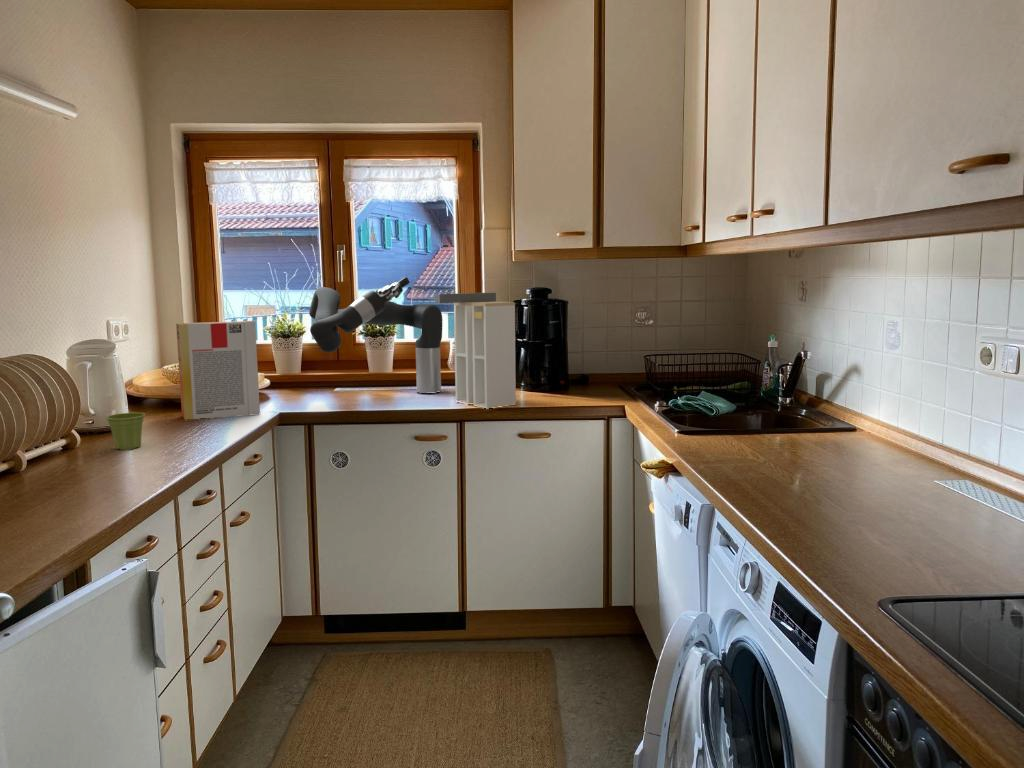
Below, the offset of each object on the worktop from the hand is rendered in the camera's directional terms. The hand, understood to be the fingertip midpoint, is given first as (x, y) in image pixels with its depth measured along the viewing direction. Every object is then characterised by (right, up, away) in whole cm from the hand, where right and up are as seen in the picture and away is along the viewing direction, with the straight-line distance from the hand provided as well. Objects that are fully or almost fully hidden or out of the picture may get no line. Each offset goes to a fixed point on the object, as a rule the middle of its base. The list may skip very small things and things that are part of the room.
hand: (407, 279), depth 271 cm
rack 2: (+28, -42, +11) cm, 51 cm away
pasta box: (-60, -45, -3) cm, 75 cm away
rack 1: (+22, -41, +20) cm, 50 cm away
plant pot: (-67, -51, -52) cm, 99 cm away
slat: (+19, -6, +13) cm, 23 cm away
